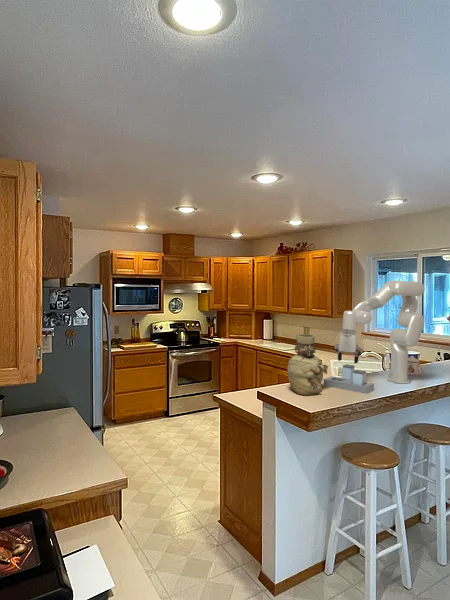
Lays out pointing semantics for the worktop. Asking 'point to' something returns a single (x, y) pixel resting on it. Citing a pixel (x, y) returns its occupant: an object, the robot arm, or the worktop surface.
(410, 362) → the teacup with lid
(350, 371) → the plug
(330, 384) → the grey slotted holder
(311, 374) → the ceramic vessel
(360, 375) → the twin plug
